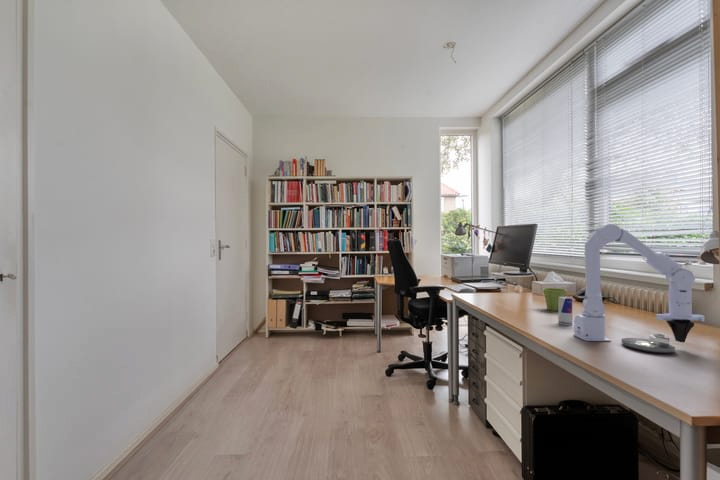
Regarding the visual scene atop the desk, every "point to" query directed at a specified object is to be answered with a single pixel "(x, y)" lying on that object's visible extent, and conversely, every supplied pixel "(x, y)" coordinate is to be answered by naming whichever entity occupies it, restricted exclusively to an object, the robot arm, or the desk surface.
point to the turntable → (646, 345)
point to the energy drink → (565, 310)
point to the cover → (659, 340)
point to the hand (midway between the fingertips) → (680, 341)
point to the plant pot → (553, 297)
